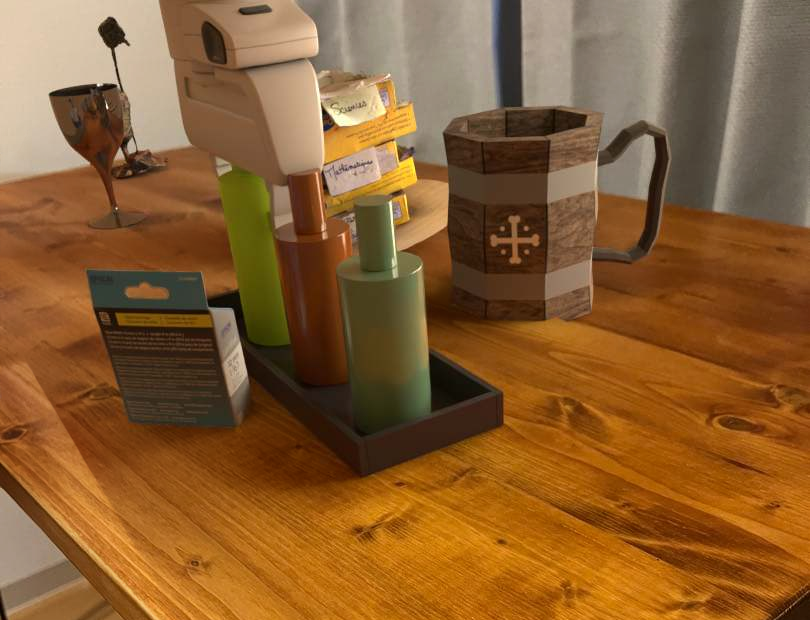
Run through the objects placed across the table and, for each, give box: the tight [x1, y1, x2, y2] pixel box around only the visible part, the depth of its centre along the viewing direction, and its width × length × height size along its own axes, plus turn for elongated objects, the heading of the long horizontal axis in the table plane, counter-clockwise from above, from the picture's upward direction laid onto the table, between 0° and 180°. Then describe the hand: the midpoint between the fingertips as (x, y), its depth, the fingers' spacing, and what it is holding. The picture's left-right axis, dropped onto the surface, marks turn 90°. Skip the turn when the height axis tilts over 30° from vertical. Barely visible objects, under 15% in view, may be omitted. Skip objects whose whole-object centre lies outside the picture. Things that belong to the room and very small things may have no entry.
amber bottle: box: [272, 168, 353, 386], centre depth 65 cm, size 6×6×15 cm
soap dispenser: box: [202, 85, 290, 346], centre depth 70 cm, size 6×7×20 cm
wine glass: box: [48, 82, 147, 230], centre depth 107 cm, size 8×8×15 cm
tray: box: [206, 288, 505, 479], centre depth 69 cm, size 11×31×3 cm, turn 31°
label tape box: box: [84, 267, 255, 429], centre depth 62 cm, size 9×4×12 cm, turn 77°
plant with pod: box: [89, 15, 169, 178], centre depth 126 cm, size 8×11×20 cm
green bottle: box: [335, 195, 432, 435], centre depth 58 cm, size 6×6×15 cm
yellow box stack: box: [316, 68, 449, 256], centre depth 93 cm, size 25×25×17 cm
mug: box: [442, 104, 673, 323], centre depth 76 cm, size 20×14×15 cm
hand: (260, 221), depth 71 cm, fingers open, 8 cm apart
